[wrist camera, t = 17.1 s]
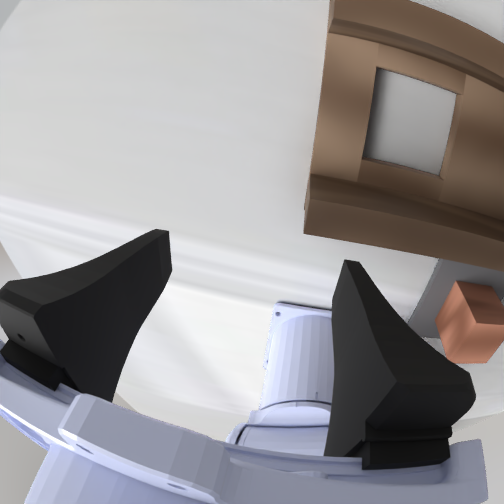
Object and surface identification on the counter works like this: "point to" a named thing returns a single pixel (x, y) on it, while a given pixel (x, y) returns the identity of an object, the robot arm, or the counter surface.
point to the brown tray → (400, 177)
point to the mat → (441, 288)
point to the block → (471, 323)
